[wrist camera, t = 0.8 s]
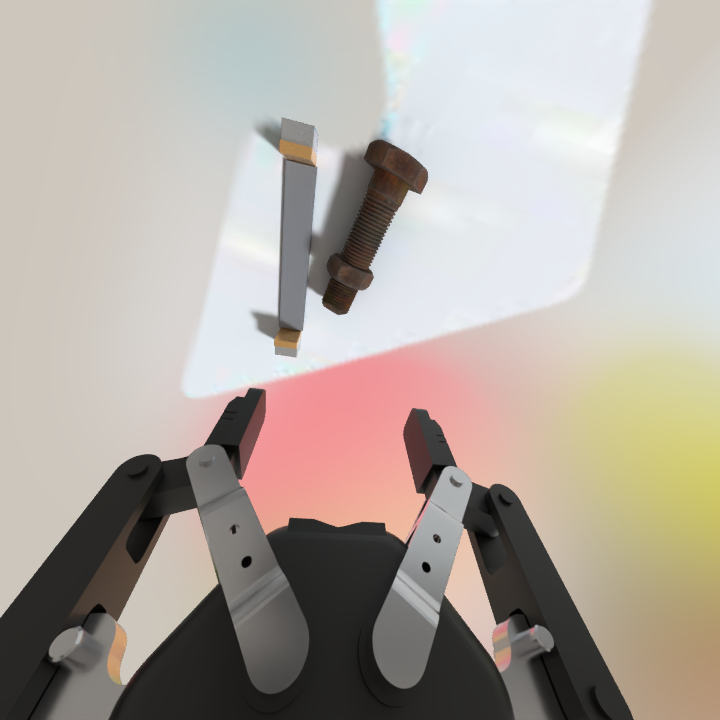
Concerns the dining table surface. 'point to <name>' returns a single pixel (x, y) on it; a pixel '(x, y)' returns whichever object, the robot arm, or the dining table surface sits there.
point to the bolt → (372, 222)
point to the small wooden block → (287, 342)
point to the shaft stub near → (298, 142)
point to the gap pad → (296, 242)
